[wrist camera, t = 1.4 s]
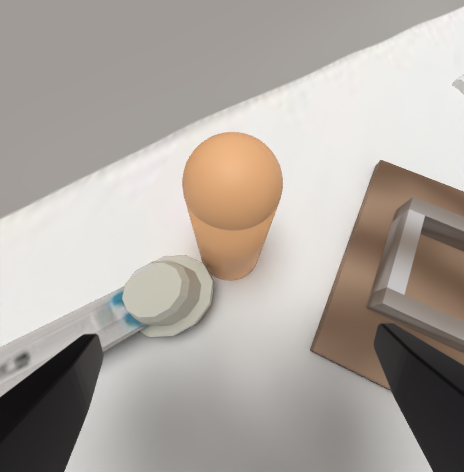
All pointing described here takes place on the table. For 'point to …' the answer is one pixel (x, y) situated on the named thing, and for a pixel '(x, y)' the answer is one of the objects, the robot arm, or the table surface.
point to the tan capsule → (231, 201)
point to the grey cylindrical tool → (119, 315)
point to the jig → (398, 272)
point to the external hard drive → (459, 83)
